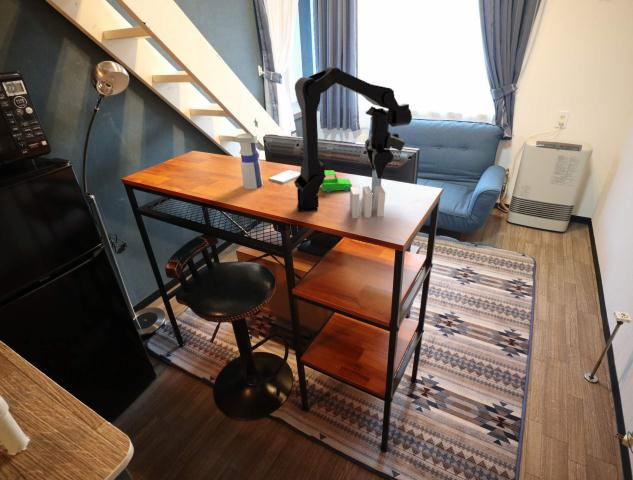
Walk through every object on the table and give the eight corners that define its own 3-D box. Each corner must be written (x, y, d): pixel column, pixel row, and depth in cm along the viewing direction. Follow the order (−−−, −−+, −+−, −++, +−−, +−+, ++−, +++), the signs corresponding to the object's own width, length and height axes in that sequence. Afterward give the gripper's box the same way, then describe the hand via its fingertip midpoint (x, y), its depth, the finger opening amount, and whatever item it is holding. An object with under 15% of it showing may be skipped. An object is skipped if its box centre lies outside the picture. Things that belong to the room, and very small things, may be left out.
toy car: (322, 193, 127) (322, 176, 124) (320, 186, 133) (319, 170, 130) (352, 191, 128) (353, 174, 125) (348, 184, 134) (349, 168, 131)
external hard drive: (268, 181, 140) (288, 173, 149) (283, 185, 136) (303, 176, 144) (268, 177, 139) (288, 169, 148) (282, 181, 135) (303, 173, 143)
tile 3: (377, 216, 109) (379, 193, 105) (373, 208, 114) (375, 186, 110) (383, 216, 109) (385, 193, 105) (379, 208, 114) (381, 185, 110)
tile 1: (352, 217, 109) (352, 194, 105) (349, 209, 114) (350, 187, 110) (358, 217, 109) (359, 194, 105) (355, 209, 114) (356, 186, 110)
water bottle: (252, 180, 140) (244, 116, 128) (268, 184, 136) (261, 118, 123) (237, 186, 135) (227, 120, 122) (253, 190, 130) (244, 122, 118)
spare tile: (374, 197, 122) (375, 176, 118) (371, 191, 127) (372, 170, 123) (380, 197, 122) (381, 175, 118) (376, 191, 127) (378, 170, 123)
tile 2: (364, 217, 109) (366, 193, 105) (361, 209, 114) (362, 186, 110) (371, 216, 109) (372, 193, 105) (367, 208, 114) (369, 186, 110)
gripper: (412, 134, 105) (406, 182, 113) (397, 121, 121) (393, 164, 129) (376, 135, 105) (373, 183, 113) (365, 122, 121) (363, 165, 129)
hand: (376, 173), depth 121 cm, fingers open, 9 cm apart
